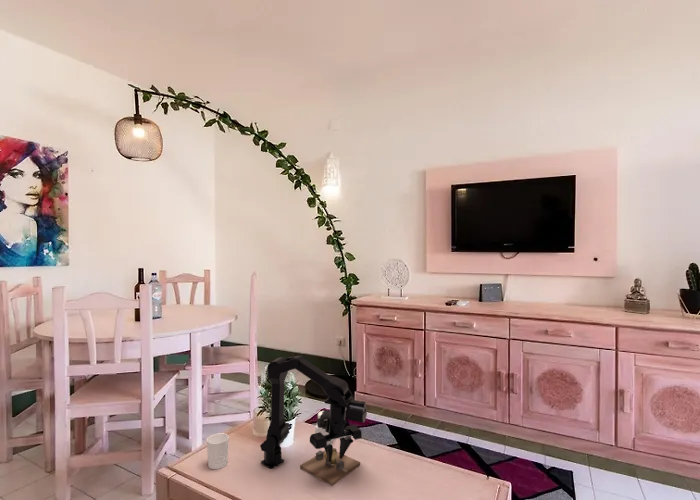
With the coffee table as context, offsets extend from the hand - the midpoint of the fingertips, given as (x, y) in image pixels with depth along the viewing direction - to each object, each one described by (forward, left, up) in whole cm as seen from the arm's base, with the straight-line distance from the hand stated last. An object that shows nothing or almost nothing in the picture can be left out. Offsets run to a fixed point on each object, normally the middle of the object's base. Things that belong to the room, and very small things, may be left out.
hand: (335, 459), depth 136 cm
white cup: (-39, -23, -6) cm, 46 cm away
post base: (-5, +3, -6) cm, 8 cm away
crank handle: (-5, +3, -2) cm, 6 cm away
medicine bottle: (-20, +16, -6) cm, 26 cm away
